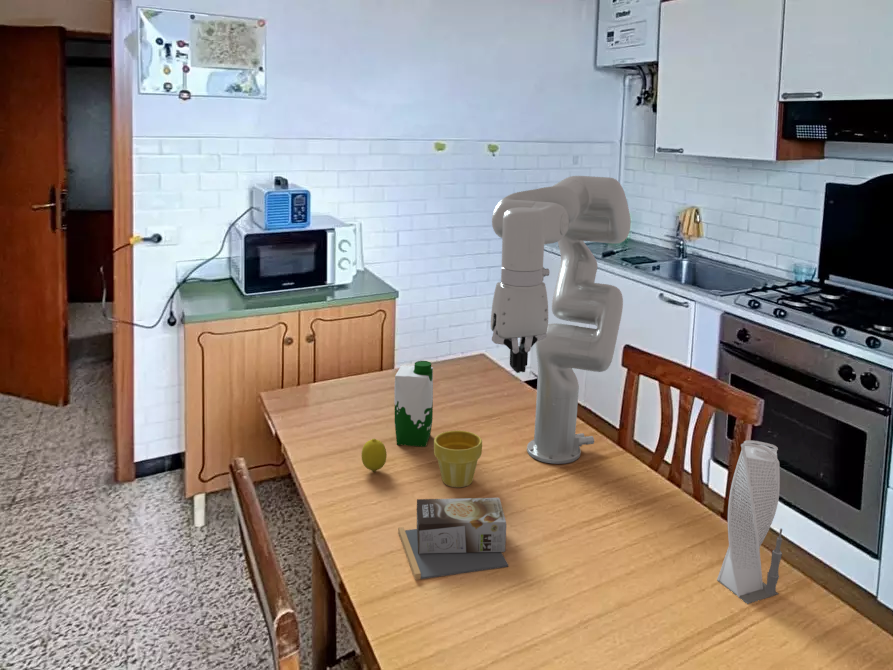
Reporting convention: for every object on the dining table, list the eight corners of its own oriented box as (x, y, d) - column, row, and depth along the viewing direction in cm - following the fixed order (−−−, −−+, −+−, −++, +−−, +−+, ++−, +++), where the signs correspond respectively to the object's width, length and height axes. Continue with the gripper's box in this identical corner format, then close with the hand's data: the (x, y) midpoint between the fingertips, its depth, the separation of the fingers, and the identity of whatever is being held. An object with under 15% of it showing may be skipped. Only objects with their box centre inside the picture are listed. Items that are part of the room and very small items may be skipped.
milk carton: (428, 449, 175) (429, 370, 169) (391, 446, 176) (391, 367, 170) (434, 433, 183) (435, 358, 177) (399, 431, 184) (398, 355, 178)
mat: (483, 522, 144) (483, 516, 144) (508, 566, 131) (508, 560, 130) (398, 533, 140) (398, 527, 140) (415, 580, 126) (415, 574, 126)
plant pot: (438, 467, 166) (439, 427, 163) (483, 471, 164) (485, 432, 162) (429, 489, 156) (429, 447, 154) (476, 494, 155) (478, 452, 152)
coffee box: (507, 522, 132) (418, 524, 131) (505, 552, 134) (417, 555, 133) (499, 496, 141) (416, 498, 139) (498, 525, 143) (415, 528, 141)
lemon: (382, 478, 161) (382, 445, 158) (358, 475, 162) (357, 442, 159) (389, 467, 166) (389, 434, 163) (366, 464, 167) (365, 432, 164)
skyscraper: (740, 607, 121) (765, 454, 113) (705, 579, 128) (726, 434, 120) (778, 595, 125) (804, 446, 116) (742, 569, 132) (765, 426, 123)
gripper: (550, 269, 139) (546, 359, 145) (476, 274, 135) (474, 367, 141) (568, 278, 132) (562, 373, 138) (490, 284, 128) (488, 381, 134)
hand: (518, 369), depth 140 cm, fingers closed
